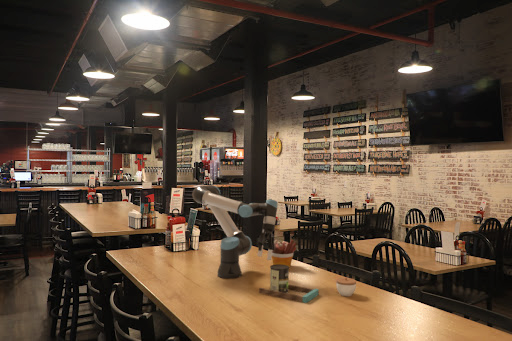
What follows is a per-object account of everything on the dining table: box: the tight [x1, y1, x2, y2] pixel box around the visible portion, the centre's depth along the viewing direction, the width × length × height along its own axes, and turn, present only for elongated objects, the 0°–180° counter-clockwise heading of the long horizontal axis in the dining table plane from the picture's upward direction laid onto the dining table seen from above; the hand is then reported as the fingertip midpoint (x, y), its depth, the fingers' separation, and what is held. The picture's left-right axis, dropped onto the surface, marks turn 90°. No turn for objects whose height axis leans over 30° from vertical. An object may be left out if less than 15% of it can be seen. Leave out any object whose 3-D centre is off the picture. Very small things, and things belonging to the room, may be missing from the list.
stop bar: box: [301, 288, 320, 304], centre depth 206 cm, size 2×16×3 cm, turn 148°
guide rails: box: [258, 283, 320, 303], centre depth 213 cm, size 28×16×2 cm, turn 58°
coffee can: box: [269, 264, 290, 293], centre depth 216 cm, size 10×10×14 cm
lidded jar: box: [335, 276, 357, 297], centre depth 214 cm, size 11×11×9 cm
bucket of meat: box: [271, 239, 297, 268], centre depth 272 cm, size 20×16×20 cm
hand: (264, 258), depth 240 cm, fingers open, 13 cm apart
